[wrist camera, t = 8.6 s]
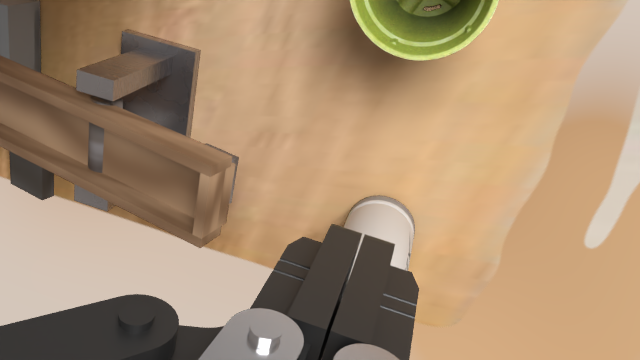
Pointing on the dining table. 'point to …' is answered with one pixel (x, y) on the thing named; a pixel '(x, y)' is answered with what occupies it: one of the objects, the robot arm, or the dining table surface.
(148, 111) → the stand
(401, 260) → the travel mug
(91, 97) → the lever
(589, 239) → the dining table surface
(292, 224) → the dining table surface
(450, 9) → the plant pot
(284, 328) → the robot arm
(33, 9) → the bin
